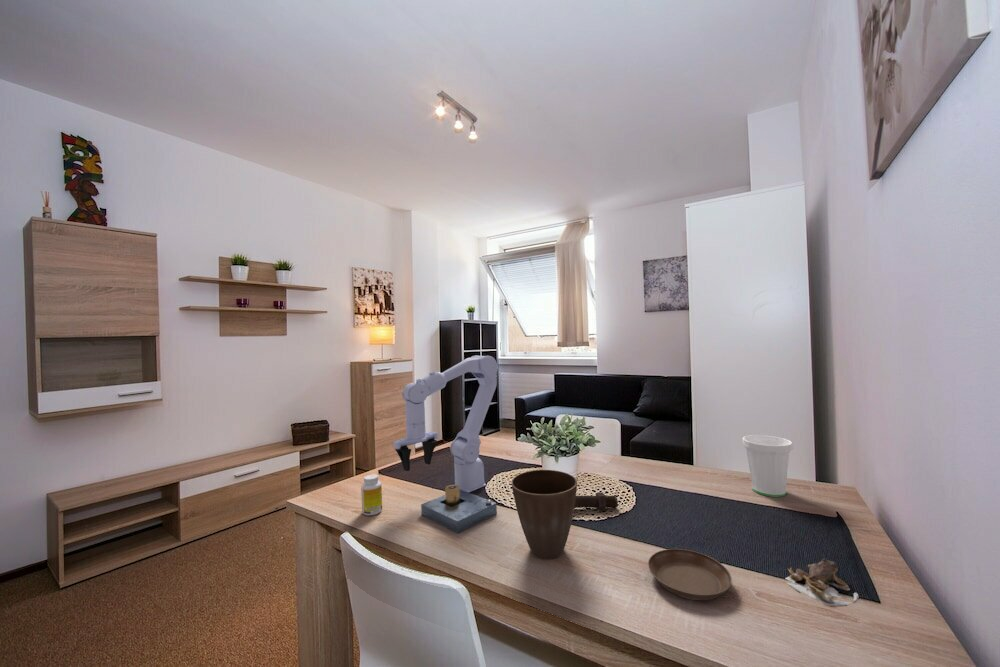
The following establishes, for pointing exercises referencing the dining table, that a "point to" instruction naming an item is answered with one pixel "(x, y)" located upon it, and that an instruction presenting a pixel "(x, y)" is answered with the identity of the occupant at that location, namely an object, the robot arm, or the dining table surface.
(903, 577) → the dining table surface
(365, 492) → the supplement bottle
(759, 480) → the cup
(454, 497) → the bushing
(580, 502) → the bolt
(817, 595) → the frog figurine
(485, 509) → the jig
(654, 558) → the saucer
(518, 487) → the plant pot
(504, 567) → the dining table surface
